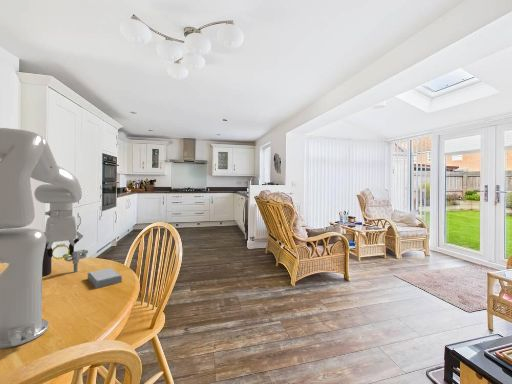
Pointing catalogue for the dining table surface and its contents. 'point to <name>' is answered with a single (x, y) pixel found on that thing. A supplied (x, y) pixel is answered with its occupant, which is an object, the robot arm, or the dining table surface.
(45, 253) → the bottle
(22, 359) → the dining table surface
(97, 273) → the stand
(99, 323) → the dining table surface
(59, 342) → the dining table surface
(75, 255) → the mechanical component
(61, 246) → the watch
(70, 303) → the dining table surface
